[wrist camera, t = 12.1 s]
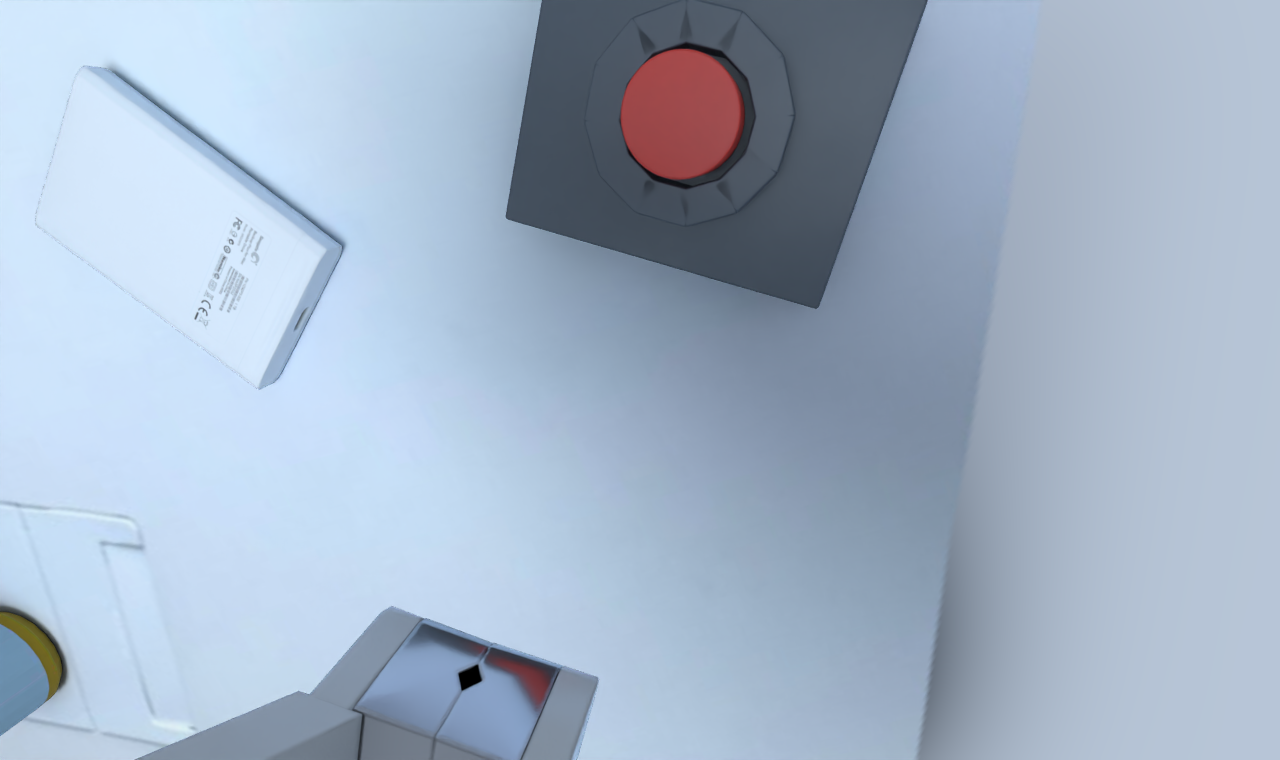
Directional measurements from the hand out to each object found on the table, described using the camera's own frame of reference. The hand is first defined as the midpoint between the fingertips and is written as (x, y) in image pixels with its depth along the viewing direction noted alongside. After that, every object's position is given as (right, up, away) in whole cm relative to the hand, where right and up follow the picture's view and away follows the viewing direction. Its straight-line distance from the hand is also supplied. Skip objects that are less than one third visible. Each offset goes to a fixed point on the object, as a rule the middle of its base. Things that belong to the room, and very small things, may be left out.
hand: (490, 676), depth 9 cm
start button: (+3, +12, +12) cm, 18 cm away
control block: (+4, +13, +16) cm, 21 cm away
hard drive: (-18, +11, +22) cm, 30 cm away
